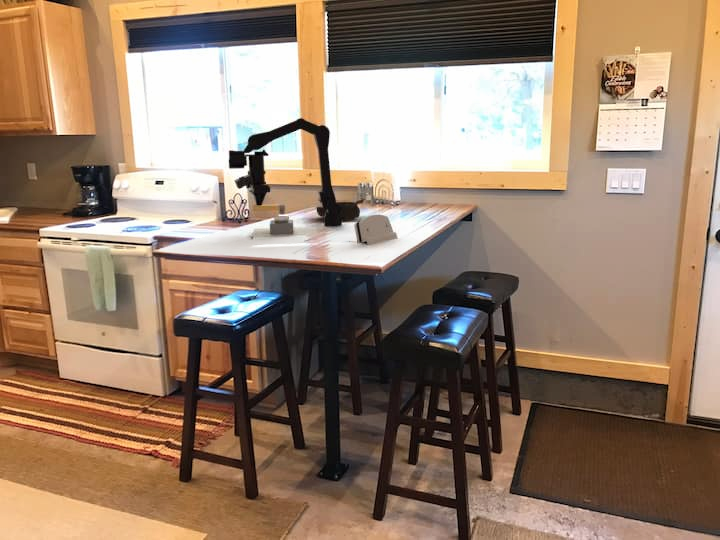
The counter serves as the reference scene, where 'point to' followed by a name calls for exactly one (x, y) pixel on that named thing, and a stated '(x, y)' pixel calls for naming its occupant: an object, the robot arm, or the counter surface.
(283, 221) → the pin
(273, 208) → the bar
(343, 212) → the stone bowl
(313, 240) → the counter surface
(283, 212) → the block
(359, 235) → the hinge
